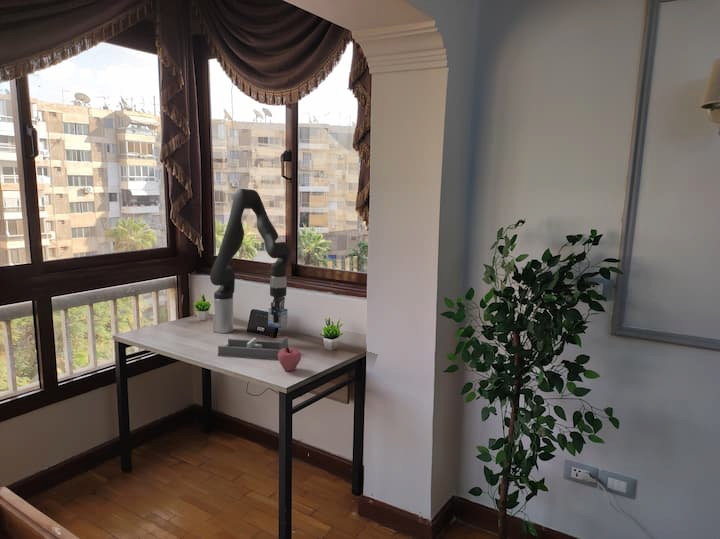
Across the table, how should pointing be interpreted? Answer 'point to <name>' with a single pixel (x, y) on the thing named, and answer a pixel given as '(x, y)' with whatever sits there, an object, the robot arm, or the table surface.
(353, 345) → the table surface
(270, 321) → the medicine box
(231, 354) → the lane
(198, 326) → the table surface
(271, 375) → the table surface
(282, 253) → the robot arm
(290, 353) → the apple
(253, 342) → the pusher
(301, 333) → the table surface
